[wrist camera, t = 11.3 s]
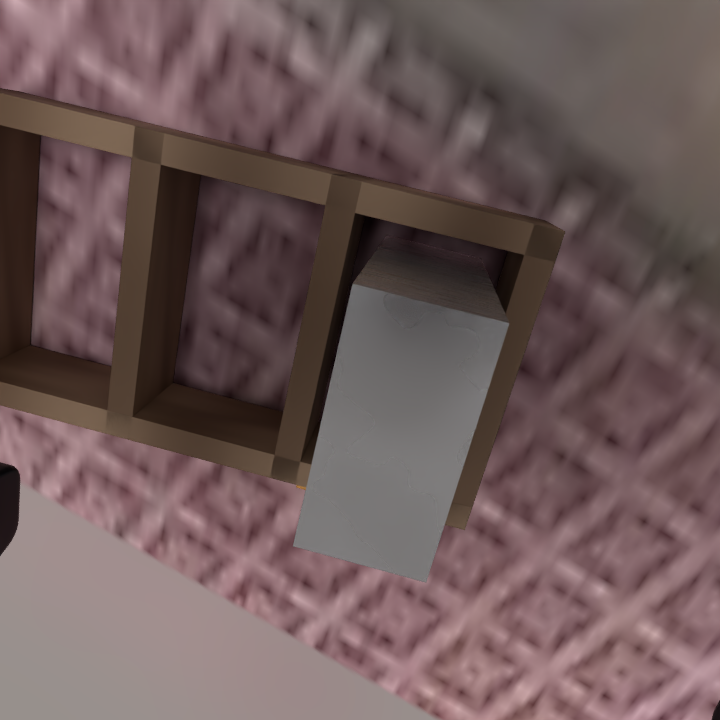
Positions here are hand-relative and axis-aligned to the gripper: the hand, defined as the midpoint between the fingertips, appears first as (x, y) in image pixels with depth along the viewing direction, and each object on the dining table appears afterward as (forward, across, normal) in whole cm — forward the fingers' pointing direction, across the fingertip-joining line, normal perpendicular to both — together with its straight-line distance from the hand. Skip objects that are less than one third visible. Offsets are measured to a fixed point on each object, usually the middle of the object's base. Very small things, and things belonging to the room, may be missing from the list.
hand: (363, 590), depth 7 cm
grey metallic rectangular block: (+13, 0, 0) cm, 13 cm away
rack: (+13, +5, 0) cm, 14 cm away
